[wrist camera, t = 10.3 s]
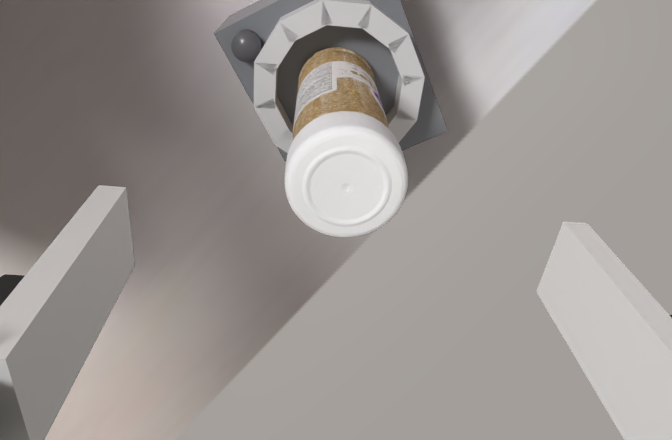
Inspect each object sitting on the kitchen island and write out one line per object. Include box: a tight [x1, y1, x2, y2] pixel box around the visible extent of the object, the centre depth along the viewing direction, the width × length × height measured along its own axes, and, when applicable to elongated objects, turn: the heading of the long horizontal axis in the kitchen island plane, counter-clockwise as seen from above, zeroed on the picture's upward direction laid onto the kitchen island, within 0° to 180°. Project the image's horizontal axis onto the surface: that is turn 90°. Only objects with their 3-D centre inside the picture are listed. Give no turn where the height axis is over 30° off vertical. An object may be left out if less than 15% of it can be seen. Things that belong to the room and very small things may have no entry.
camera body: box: [214, 0, 448, 162], centre depth 32 cm, size 11×10×8 cm
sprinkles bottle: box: [285, 47, 408, 238], centre depth 24 cm, size 5×5×13 cm
